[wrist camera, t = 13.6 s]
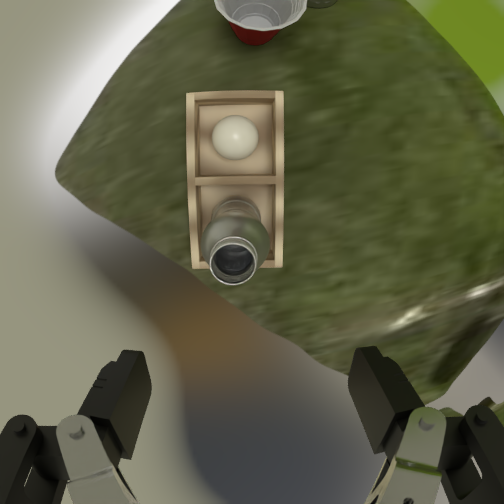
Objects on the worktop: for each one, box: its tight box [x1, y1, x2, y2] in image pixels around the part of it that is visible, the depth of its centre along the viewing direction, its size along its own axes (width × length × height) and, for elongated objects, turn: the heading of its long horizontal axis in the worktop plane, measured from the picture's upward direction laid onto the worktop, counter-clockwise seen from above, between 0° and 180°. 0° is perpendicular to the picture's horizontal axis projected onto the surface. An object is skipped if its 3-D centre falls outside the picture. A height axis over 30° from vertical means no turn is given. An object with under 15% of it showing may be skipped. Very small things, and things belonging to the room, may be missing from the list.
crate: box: [186, 90, 284, 269], centre depth 39 cm, size 23×12×6 cm, turn 0°
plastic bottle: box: [200, 196, 270, 285], centre depth 32 cm, size 6×7×20 cm
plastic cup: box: [214, 0, 307, 45], centre depth 29 cm, size 11×11×12 cm
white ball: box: [212, 115, 259, 160], centre depth 36 cm, size 6×6×6 cm
